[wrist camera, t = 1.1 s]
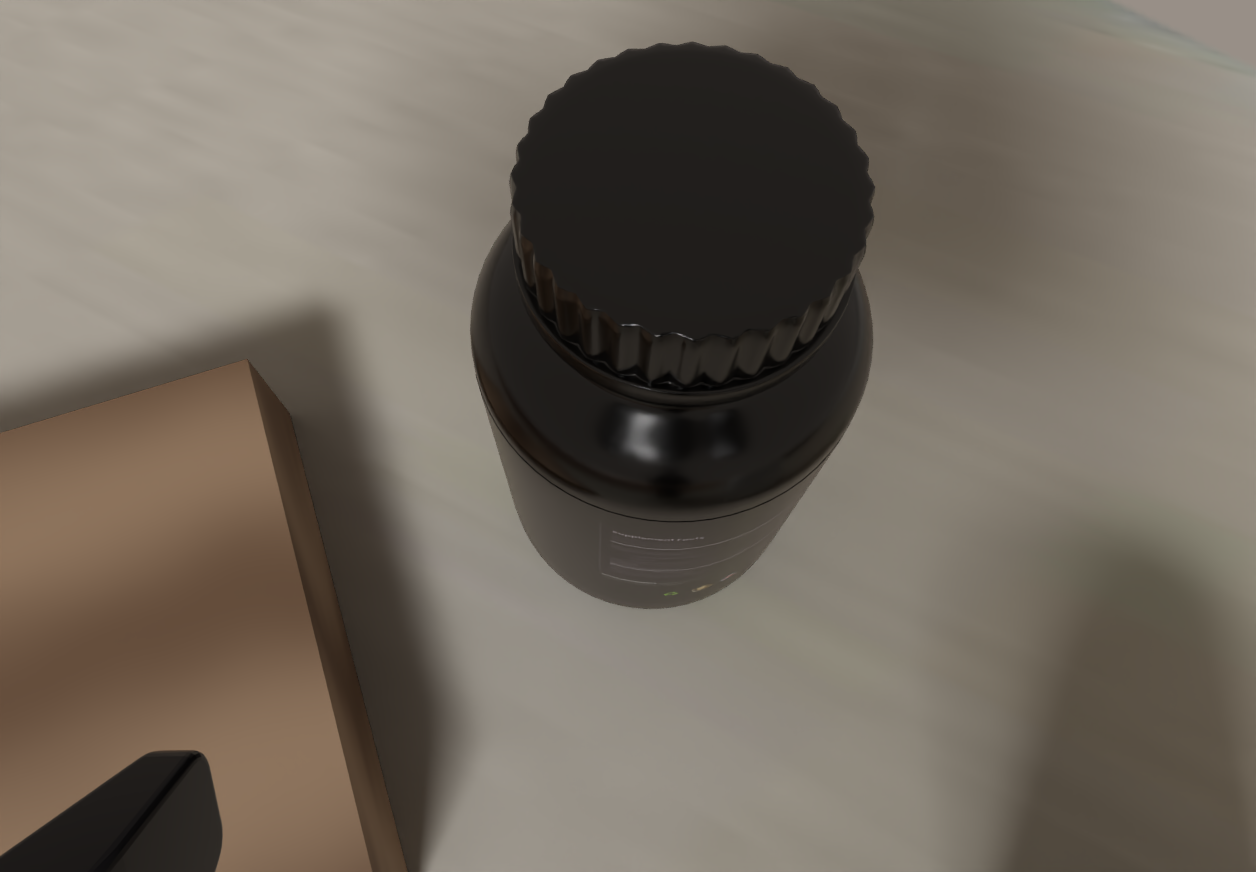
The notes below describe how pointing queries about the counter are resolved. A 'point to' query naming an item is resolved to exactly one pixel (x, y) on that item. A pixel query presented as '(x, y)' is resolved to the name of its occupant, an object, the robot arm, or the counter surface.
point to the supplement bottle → (674, 317)
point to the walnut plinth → (183, 624)
